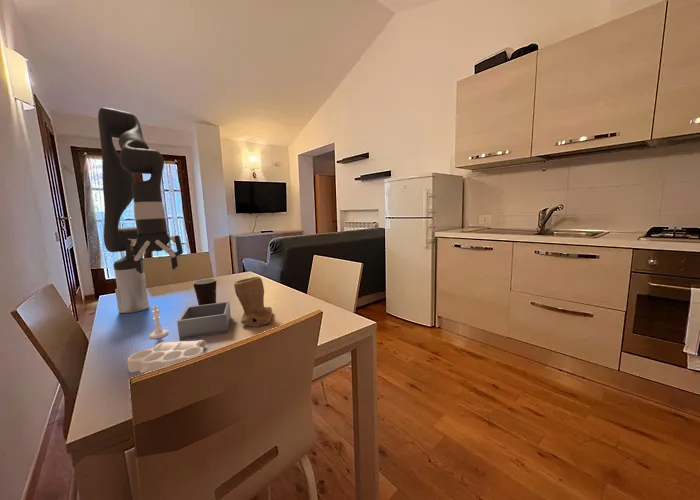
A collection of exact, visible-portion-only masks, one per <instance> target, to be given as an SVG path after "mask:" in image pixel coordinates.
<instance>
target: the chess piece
mask: <svg viewBox="0 0 700 500" xmlns="http://www.w3.org/2000/svg"><path fill="white" fill-rule="evenodd" d="M158 308H159V306H158V305H156V304H153V307H151V310H152V311H151V313H152V315H153V318H152V320H153V321H154V324H155V325H154V330H153V332H151V333H150V334H149V338H150V339H159V338H163V337H165V336H167V335H169V331H168V330H167V329H163V328H162V326H161V323H160V320H161V316H159V315H160V314H159V313H160V309H158Z"/></svg>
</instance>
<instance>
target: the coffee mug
mask: <svg viewBox="0 0 700 500" xmlns="http://www.w3.org/2000/svg"><path fill="white" fill-rule="evenodd" d="M192 284H193V288H194V292H195V296H196V300H197V304H198V305H206V304H214V303H217V279H216V278H202V279H198V280H195V281H193V282H192Z"/></svg>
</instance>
